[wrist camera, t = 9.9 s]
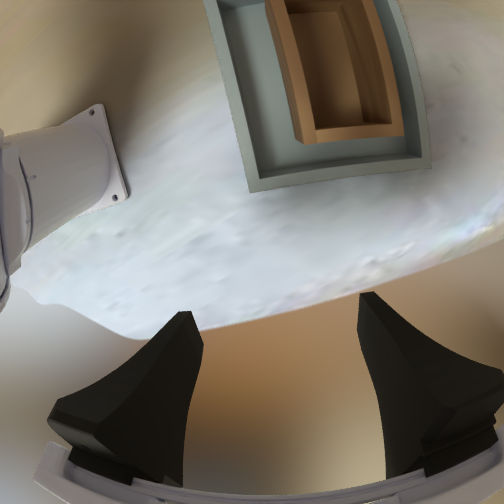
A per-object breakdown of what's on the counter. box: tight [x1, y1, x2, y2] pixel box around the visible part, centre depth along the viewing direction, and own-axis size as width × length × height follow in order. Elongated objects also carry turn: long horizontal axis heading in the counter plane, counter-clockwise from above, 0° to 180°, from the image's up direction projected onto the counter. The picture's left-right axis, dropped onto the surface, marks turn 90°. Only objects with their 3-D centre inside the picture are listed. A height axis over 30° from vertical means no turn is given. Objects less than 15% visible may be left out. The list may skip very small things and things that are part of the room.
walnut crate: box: [265, 0, 405, 145], centre depth 11 cm, size 5×9×5 cm, turn 12°
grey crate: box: [203, 0, 432, 193], centre depth 13 cm, size 12×13×3 cm
